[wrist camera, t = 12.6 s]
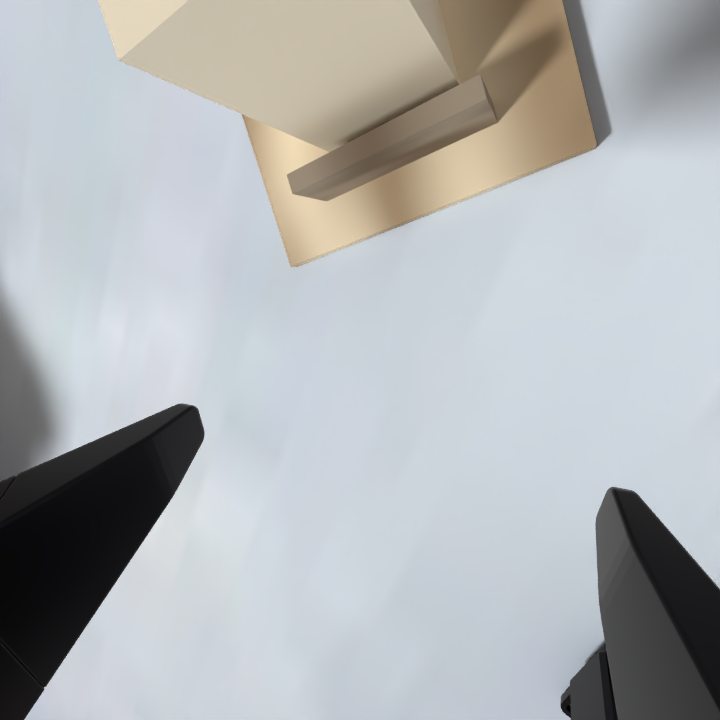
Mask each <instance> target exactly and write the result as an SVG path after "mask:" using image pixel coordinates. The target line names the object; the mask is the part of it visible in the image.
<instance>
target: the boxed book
mask: <svg viewBox="0 0 720 720" xmlns="http://www.w3.org/2000/svg"><path fill="white" fill-rule="evenodd" d="M98 2H99V5H100V8H101V11H102V14H103V17H104V20H105V23H106V25H107V28H108V31H109V34H110V37H111V40H112V43H113V46H114V49H115V52H116V55H117V57H118V60H119V61H121V62H124V63H126V64H128V65H131V66H133V67H135V68H137V69H140V70H142V71H144V72H147V73H149V74H151V75H153V76H156V77H158V78H160V79H163V80H165V81H167V82H170V83H172V84H174V85H176V86H179V87H181V88H183V89H186V90H188V91H190V92H192V93H195V94H197V95H199V96H202V97H204V98H206V99H209V100H211V101H213V102H215V103H218V104H220V105H222V106H225V107H227V108H229V109H231V110H234V111H236V112H238V113H241V114H243V115H245V116H248V117H250V118H252V119H254V120H257V121H259V122H261V123H264V124H266V125H268V126H270V127H273V128H275V129H277V130H280V131H282V132H284V133H287V134H289V135H291V136H293V137H296V138H298V139H300V140H303V141H305V142H307V143H309V144H312V145H314V146H316V147H319V148H321V149H323V150H326V151H328V152H331V151H333V150H335V149H337V148H339V147H341V146H343V145H344V144H346V143H348V142H350V141H352V140H354V139H356V138H358V137H360V136H362V135H364V134H366V133H368V132H369V131H371V130H373V129H375V128H377V127H379V126H381V125H383V124H385V123H387V122H389V121H391V120H392V119H394V118H396V117H398V116H400V115H402V114H404V113H406V112H408V111H410V110H412V109H414V108H416V107H417V106H419V105H421V104H423V103H425V102H427V101H429V100H431V99H433V98H435V97H437V96H439V95H441V94H442V93H444V92H446V91H448V90H450V89H452V88H454V87H456V86H458V85H460V82H459V78H458V74H457V70H456V67H455V63H454V59H453V55H452V52H451V48H450V44H449V40H448V37H447V33H446V29H445V25H444V22H443V18H442V14H441V10H440V7H439V3H438V0H98Z"/></svg>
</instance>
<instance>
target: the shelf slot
mask: <svg viewBox="0 0 720 720" xmlns="http://www.w3.org/2000/svg"><path fill="white" fill-rule="evenodd" d="M438 3H439V7H440V10H441V14H442V18H443V22H444V25H445V29H446V33H447V37H448V40H449V44H450V48H451V52H452V55H453V59H454V63H455V67H456V70H457V74H458V78H459V82H460V85H458V86H456V87H454V88H452V89H450V90H448V91H446V92H444V93H442V94H441V95H439V96H437V97H435V98H433V99H431V100H429V101H427V102H425V103H423V104H421V105H419V106H417V107H416V108H414V109H412V110H410V111H408V112H406V113H404V114H402V115H400V116H398V117H396V118H394V119H392V120H391V121H389V122H387V123H385V124H383V125H381V126H379V127H377V128H375V129H373V130H371V131H369V132H368V133H366V134H364V135H362V136H360V137H358V138H356V139H354V140H352V141H350V142H348V143H346V144H344V145H343V146H341V147H339V148H337V149H335V150H333V151H331V152H328V151H326V150H323V149H321V148H319V147H316V146H314V145H312V144H309V143H307V142H305V141H303V140H300V139H298V138H296V137H293V136H291V135H289V134H287V133H284V132H282V131H280V130H277V129H275V128H273V127H270V126H268V125H266V124H264V123H261V122H259V121H257V120H254V119H252V118H250V117H248V116H245V115H243V114H242V116H243V119H244V122H245V126H246V129H247V132H248V135H249V138H250V141H251V144H252V147H253V150H254V154H255V157H256V160H257V163H258V166H259V169H260V172H261V175H262V179H263V182H264V185H265V188H266V191H267V194H268V197H269V200H270V204H271V207H272V210H273V213H274V216H275V219H276V222H277V225H278V228H279V232H280V235H281V238H282V241H283V244H284V247H285V250H286V253H287V257H288V260H289V263H290V266H291V267H298V266H300V265H303V264H305V263H308V262H310V261H313V260H315V259H318V258H320V257H323V256H325V255H328V254H330V253H333V252H336V251H338V250H341V249H343V248H346V247H348V246H351V245H353V244H356V243H358V242H361V241H363V240H366V239H368V238H371V237H373V236H376V235H378V234H381V233H384V232H386V231H389V230H391V229H394V228H396V227H399V226H401V225H404V224H406V223H409V222H411V221H414V220H416V219H419V218H421V217H424V216H426V215H429V214H432V213H434V212H437V211H439V210H442V209H444V208H447V207H449V206H452V205H454V204H457V203H459V202H462V201H464V200H467V199H469V198H472V197H474V196H477V195H480V194H482V193H485V192H487V191H490V190H492V189H495V188H497V187H500V186H502V185H505V184H507V183H510V182H512V181H515V180H517V179H520V178H522V177H525V176H528V175H530V174H533V173H535V172H538V171H540V170H543V169H545V168H548V167H550V166H553V165H555V164H558V163H560V162H563V161H565V160H568V159H570V158H573V157H576V156H578V155H581V154H583V153H586V152H588V151H591V150H593V149H596V146H597V143H596V139H595V135H594V131H593V127H592V122H591V118H590V114H589V110H588V106H587V102H586V97H585V93H584V89H583V85H582V81H581V77H580V73H579V68H578V64H577V60H576V56H575V52H574V48H573V43H572V39H571V35H570V31H569V27H568V23H567V18H566V14H565V10H564V6H563V2H562V0H438Z"/></svg>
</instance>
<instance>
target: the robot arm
mask: <svg viewBox="0 0 720 720" xmlns="http://www.w3.org/2000/svg"><path fill="white" fill-rule="evenodd" d="M203 439H204V428H203V425H202V421H201V417H200V414H199V411H198V409H197V408H196V407H195V406H193V405H188V404H177V405H175V406H172V407H170V408H168V409H165V410H163V411H161V412H159V413H156V414H154V415H152V416H150V417H147V418H145V419H143V420H140V421H138V422H136V423H134V424H131V425H129V426H127V427H124V428H122V429H120V430H118V431H115V432H113V433H111V434H108V435H106V436H104V437H102V438H99V439H97V440H95V441H92V442H90V443H88V444H86V445H83V446H81V447H79V448H77V449H74V450H72V451H70V452H67V453H65V454H63V455H61V456H58V457H56V458H54V459H51V460H49V461H47V462H45V463H42V464H40V465H38V466H35V467H33V468H31V469H29V470H26V471H24V472H22V473H20V474H18V475H17V476H12V477H10V478H8V479H6V480H3V481H1V482H0V720H24V719H25V718H26V716H27V715H28V713H29V712H30V710H31V709H32V707H33V706H34V704H35V703H36V701H37V700H38V698H39V697H40V695H41V694H42V692H43V691H44V687H46V686H47V684H48V683H49V681H50V680H51V678H52V677H53V675H54V674H55V672H56V671H57V669H58V668H59V666H60V665H61V663H62V662H63V660H64V659H65V657H66V656H67V654H68V653H69V651H70V650H71V648H72V647H73V645H74V644H75V642H76V641H77V639H78V638H79V636H80V635H81V633H82V632H83V630H84V629H85V627H86V626H87V624H88V623H89V621H90V620H91V619H92V617H93V616H94V614H95V613H96V611H97V610H98V608H99V607H100V605H101V604H102V602H103V601H104V599H105V598H106V596H107V595H108V593H109V592H110V590H111V589H112V587H113V586H114V584H115V583H116V581H117V580H118V578H119V577H120V575H121V574H122V572H123V571H124V569H125V568H126V566H127V565H128V563H129V562H130V560H131V559H132V557H133V556H134V554H135V553H136V551H137V550H138V548H139V547H140V545H141V544H142V542H143V541H144V539H145V538H146V536H147V535H148V533H149V532H150V530H151V529H152V527H153V526H154V524H155V523H156V521H157V520H158V518H159V517H160V515H161V514H162V512H163V511H164V509H165V508H166V506H167V505H168V503H169V502H170V500H171V499H172V497H173V496H174V494H175V492H176V490H177V489H178V487H179V485H180V483H181V481H182V479H183V478H184V476H185V474H186V472H187V470H188V468H189V466H190V464H191V463H192V461H193V459H194V457H195V455H196V453H197V451H198V449H199V448H200V446H201V444H202V442H203ZM596 546H597V569H598V591H599V606H600V613H601V620H602V626H603V632H604V638H605V644H606V649H605V650H601V651H598V652H597V653H596V654H595V655H594V656H593V657H592V658H591V659H590V660H589V661H588V662H587V663H586V665H585V666H584V667H583V668H582V669H581V670H580V671H579V672H578V673H577V674H576V675H575V676H574V677H573V678H572V680H571V681H570V687H569V688H568V689H567V690H566V691H565V692H564V693H563V694H562V696H561V709H562V711H563V712H564V713H565V714H566V715H567V716H569V717H570V718H571V720H720V589H719V588H718V586H717V585H716V584H715V583H714V582H713V581H712V579H711V578H710V577H709V576H708V575H707V574H706V573H705V571H704V570H703V569H702V568H701V567H700V566H699V564H698V563H697V562H696V561H695V560H694V559H693V558H692V556H691V555H690V554H689V553H688V552H687V551H686V549H685V548H684V547H683V546H682V545H681V544H680V543H679V541H678V540H677V539H676V538H675V537H674V536H673V534H672V533H671V532H670V531H669V530H668V529H667V528H666V526H665V525H664V524H663V523H662V522H661V521H660V519H659V518H658V517H657V516H656V515H655V514H654V513H653V511H652V510H651V509H650V508H649V507H648V506H647V504H646V503H645V502H644V501H643V500H642V499H641V498H640V496H639V495H638V494H637V493H635V492H634V491H632V490H627V489H622V488H617V487H611V488H609V489H608V490H607V492H606V494H605V497H604V499H603V502H602V504H601V506H600V509H599V511H598V514H597V517H596Z"/></svg>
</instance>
